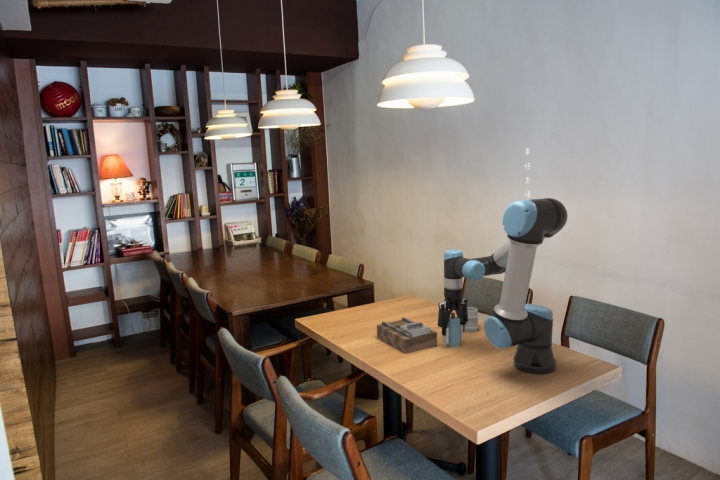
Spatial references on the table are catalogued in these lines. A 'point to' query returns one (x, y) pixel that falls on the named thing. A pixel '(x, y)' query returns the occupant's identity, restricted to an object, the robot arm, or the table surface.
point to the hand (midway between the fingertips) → (452, 340)
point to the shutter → (415, 329)
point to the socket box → (404, 337)
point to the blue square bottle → (454, 331)
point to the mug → (472, 320)
